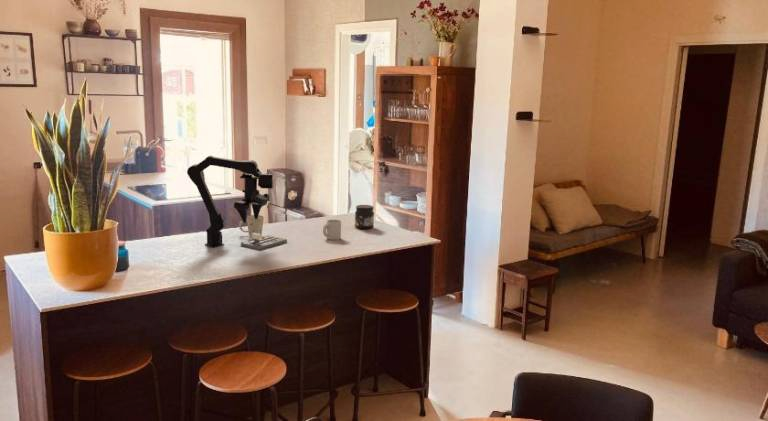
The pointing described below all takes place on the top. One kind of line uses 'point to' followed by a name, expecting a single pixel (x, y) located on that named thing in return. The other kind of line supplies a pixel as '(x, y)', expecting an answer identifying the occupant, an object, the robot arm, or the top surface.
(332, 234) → the cup
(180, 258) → the top surface
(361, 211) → the supplement container
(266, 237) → the console board
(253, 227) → the mug
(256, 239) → the fader tab
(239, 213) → the robot arm
